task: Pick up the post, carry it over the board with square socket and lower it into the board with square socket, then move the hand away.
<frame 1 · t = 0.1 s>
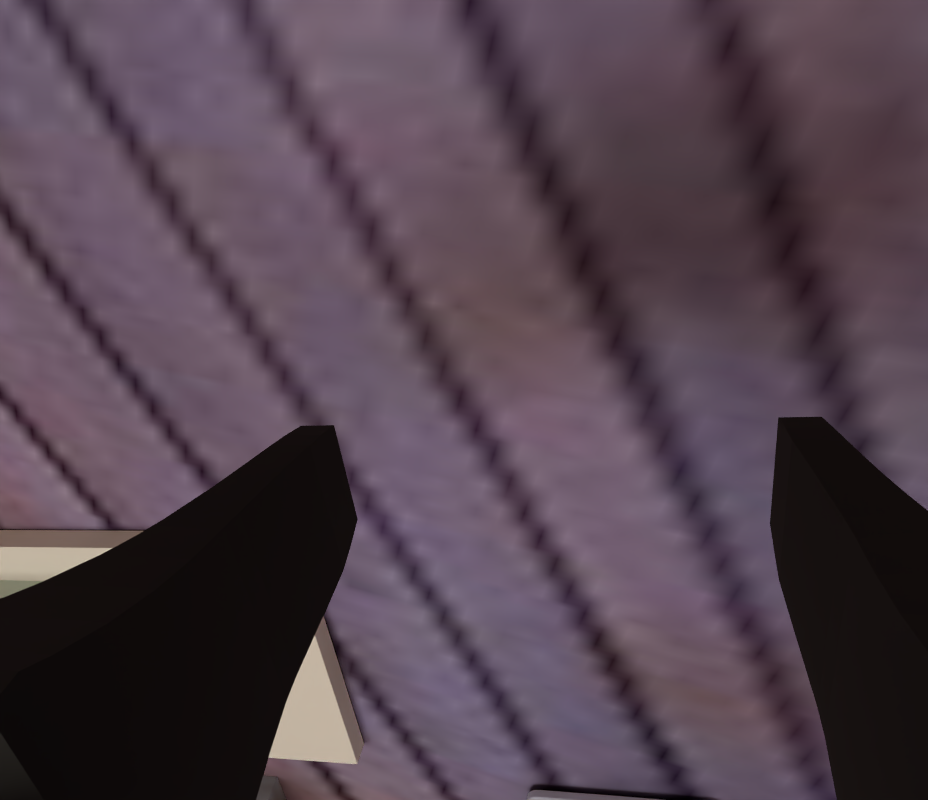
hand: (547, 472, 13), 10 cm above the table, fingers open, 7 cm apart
board with square socket: (95, 638, 34), on the table
post: (250, 798, 39), on the table
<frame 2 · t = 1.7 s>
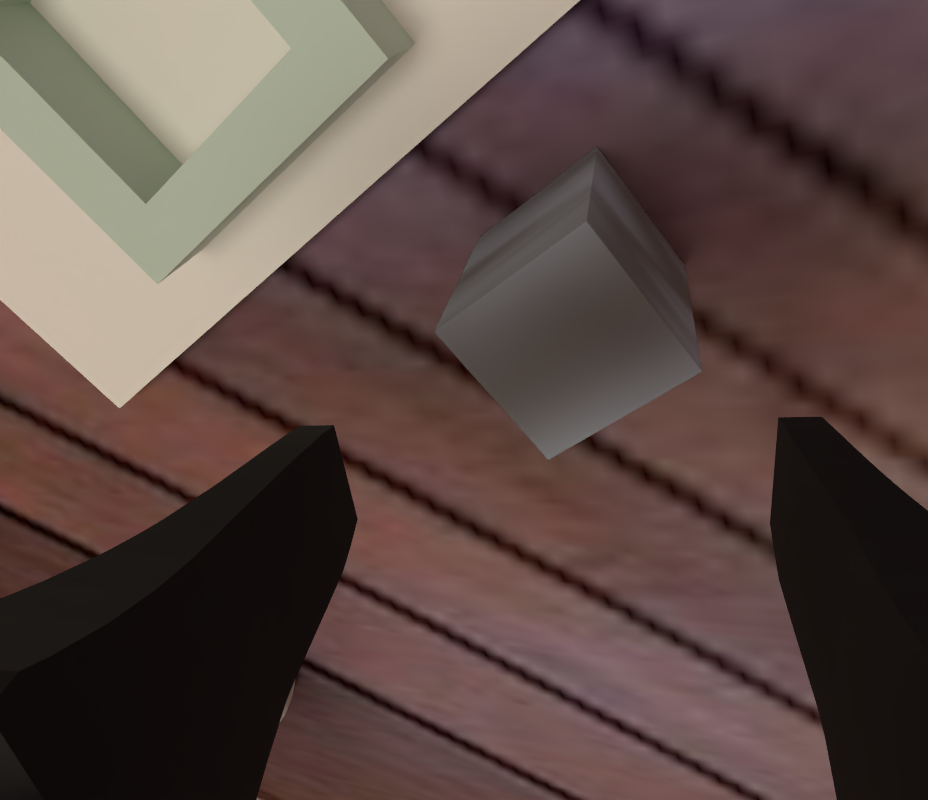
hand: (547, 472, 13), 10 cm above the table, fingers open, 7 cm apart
board with square socket: (194, 14, 20), on the table
post: (580, 251, 22), on the table
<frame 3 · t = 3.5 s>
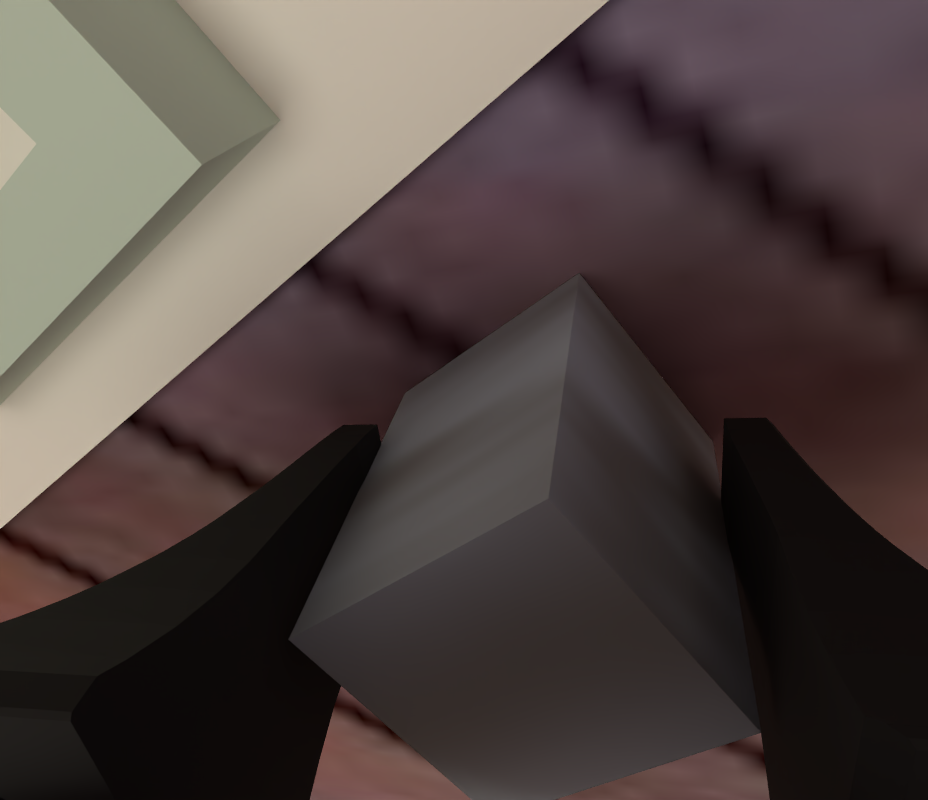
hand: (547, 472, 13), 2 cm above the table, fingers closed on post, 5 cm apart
post: (555, 416, 14), on the table, touching gripper
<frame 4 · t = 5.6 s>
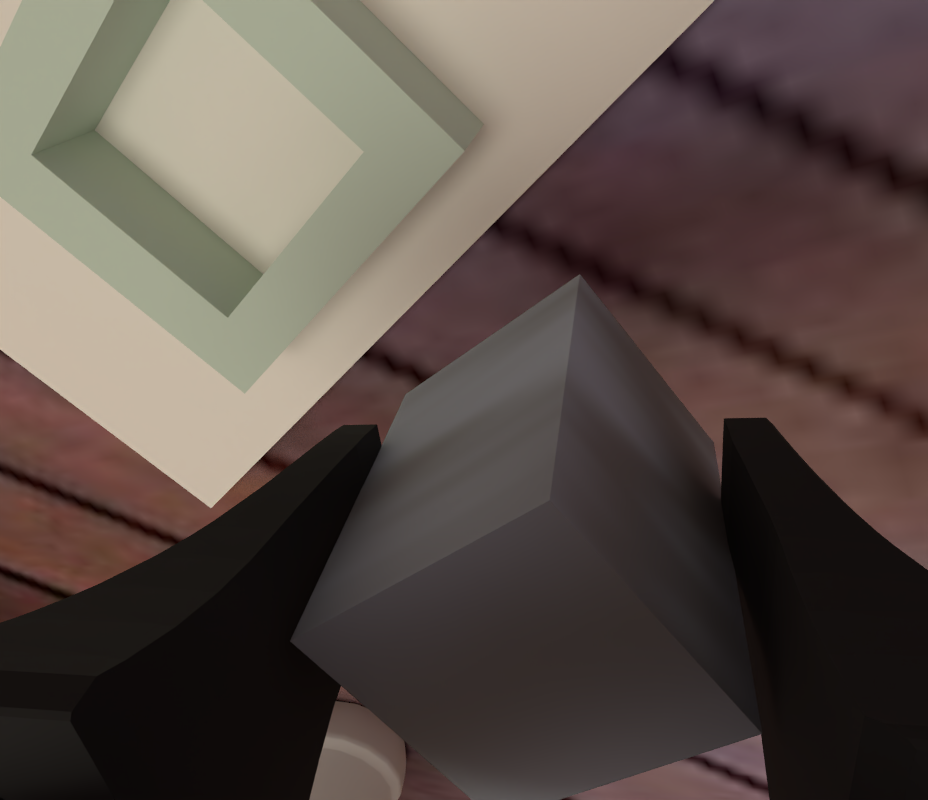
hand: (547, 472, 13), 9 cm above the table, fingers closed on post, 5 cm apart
board with square socket: (255, 119, 20), on the table
bottle: (352, 734, 33), on the table
post: (556, 417, 14), point 7 cm above the table, touching gripper
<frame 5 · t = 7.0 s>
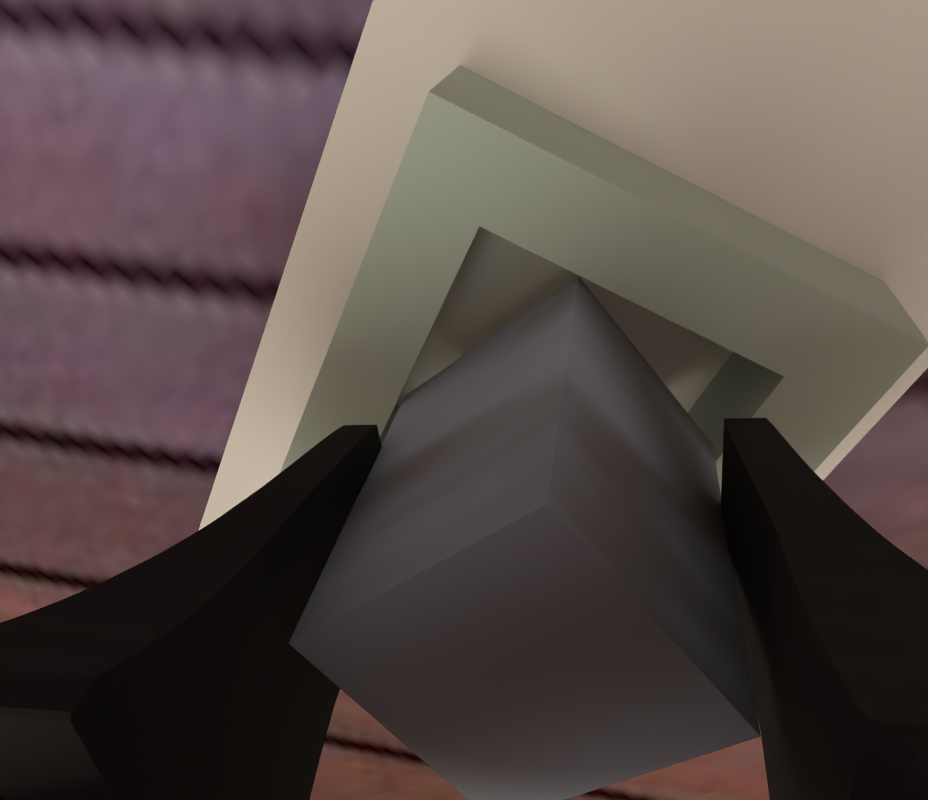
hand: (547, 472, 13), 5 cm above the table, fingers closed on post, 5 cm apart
board with square socket: (567, 340, 17), on the table
post: (555, 419, 14), point 3 cm above the table, touching gripper
when the fingers open (4 cm above the table, at t = 8.1 s): post drops 1 cm, resting on board with square socket.
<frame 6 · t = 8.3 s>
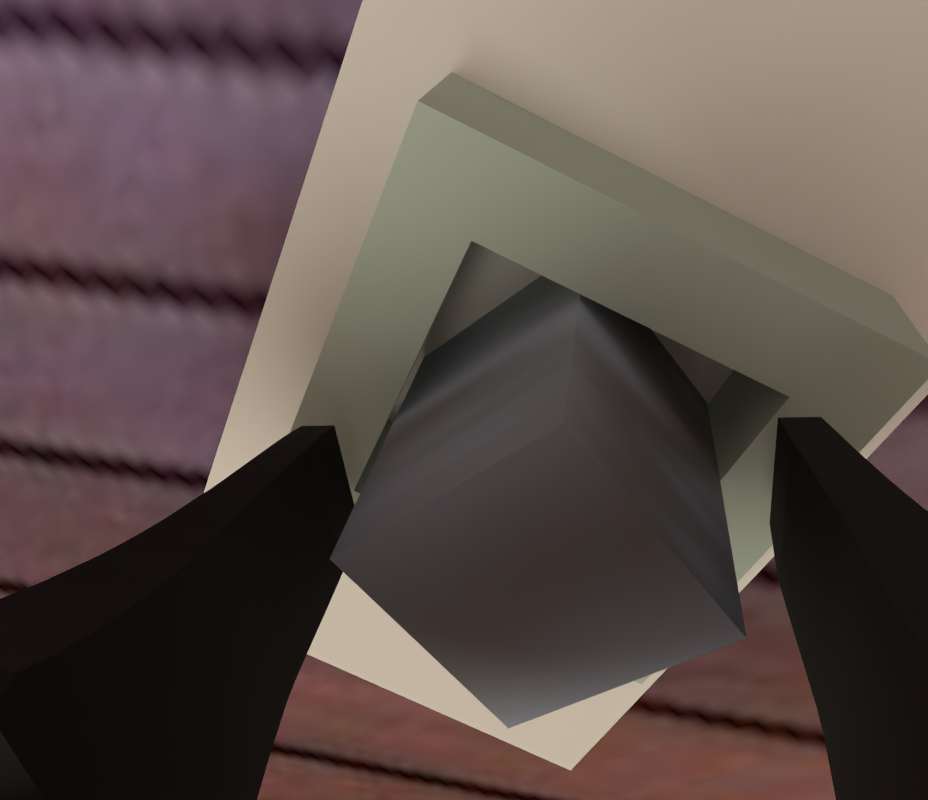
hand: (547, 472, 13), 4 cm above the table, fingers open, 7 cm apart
board with square socket: (564, 354, 16), on the table
post: (562, 379, 16), point 1 cm above the table, touching board with square socket
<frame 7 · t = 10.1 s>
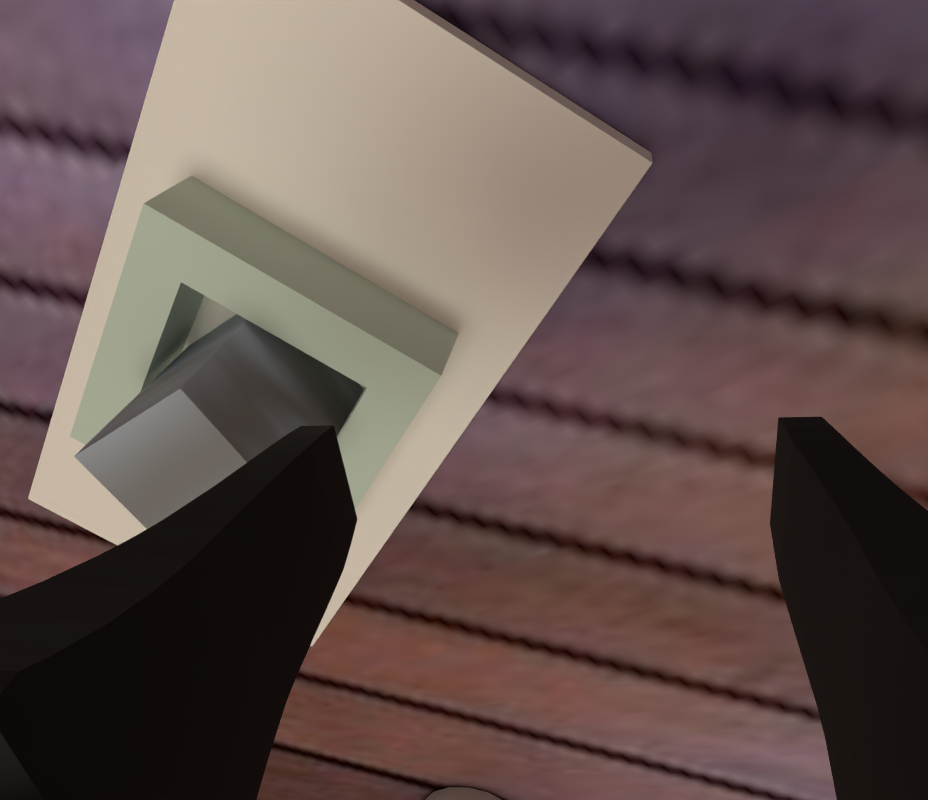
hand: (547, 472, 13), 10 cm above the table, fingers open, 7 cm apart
board with square socket: (286, 351, 25), on the table
post: (275, 367, 24), point 1 cm above the table, touching board with square socket
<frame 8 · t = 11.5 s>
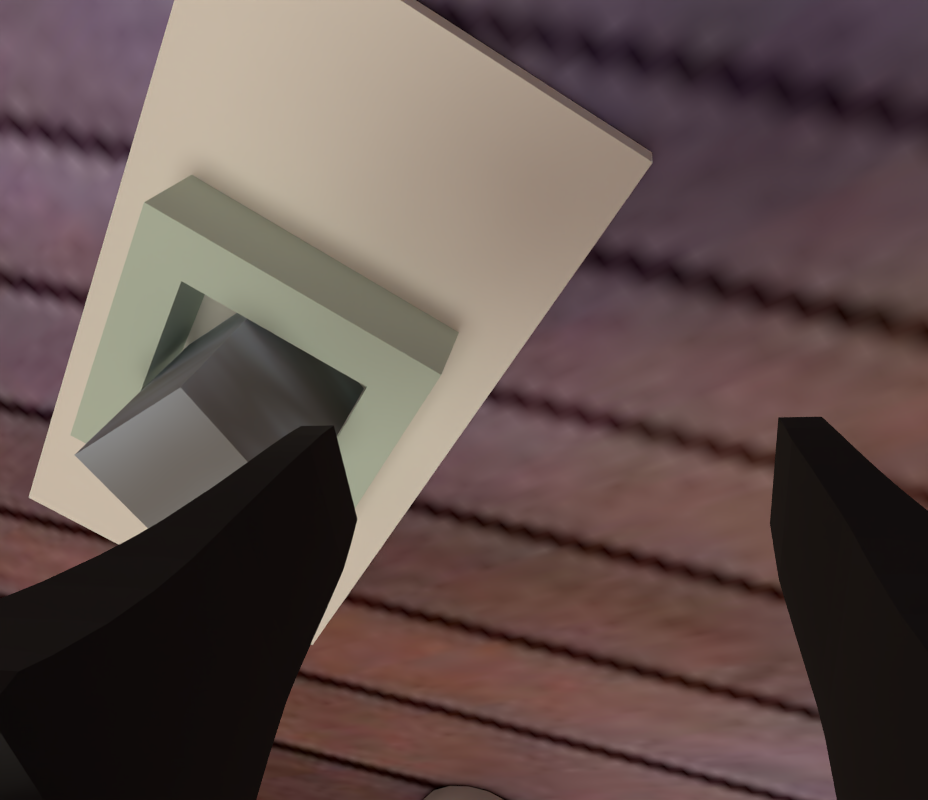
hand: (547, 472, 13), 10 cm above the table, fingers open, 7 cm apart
board with square socket: (286, 350, 25), on the table
post: (276, 366, 24), point 1 cm above the table, touching board with square socket
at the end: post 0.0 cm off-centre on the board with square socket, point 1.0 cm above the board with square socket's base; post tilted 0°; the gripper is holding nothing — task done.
